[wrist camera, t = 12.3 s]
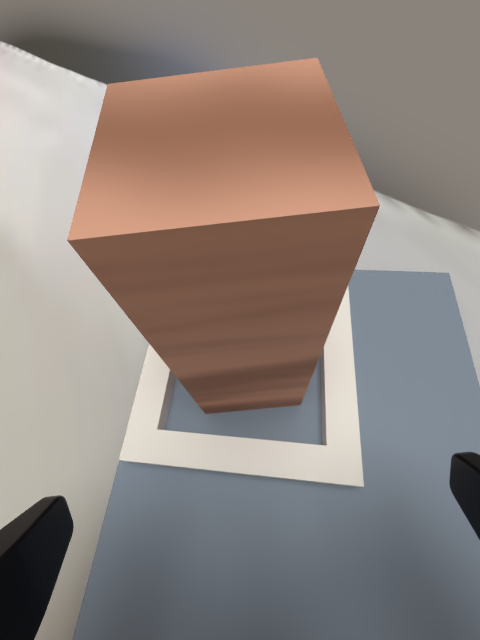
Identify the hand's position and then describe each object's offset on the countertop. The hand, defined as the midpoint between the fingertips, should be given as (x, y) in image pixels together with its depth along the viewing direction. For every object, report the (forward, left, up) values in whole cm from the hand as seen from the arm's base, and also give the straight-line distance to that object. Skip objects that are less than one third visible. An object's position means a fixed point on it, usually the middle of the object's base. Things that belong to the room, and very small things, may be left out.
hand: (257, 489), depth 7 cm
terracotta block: (+6, +1, -8) cm, 10 cm away
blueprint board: (+2, -2, -9) cm, 10 cm away
